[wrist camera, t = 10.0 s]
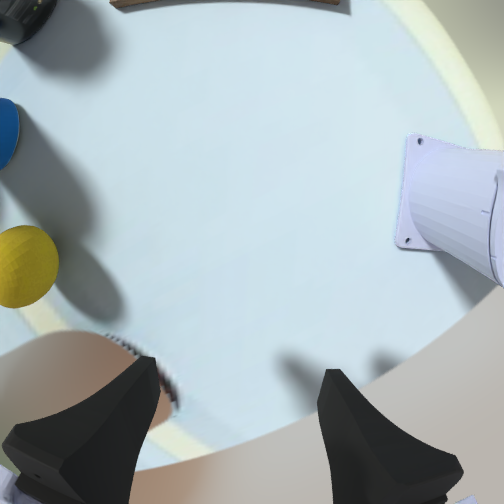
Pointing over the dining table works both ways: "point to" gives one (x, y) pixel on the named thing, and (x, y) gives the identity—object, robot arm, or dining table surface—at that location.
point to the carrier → (127, 0)
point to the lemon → (26, 265)
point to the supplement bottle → (22, 18)
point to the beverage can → (8, 130)
